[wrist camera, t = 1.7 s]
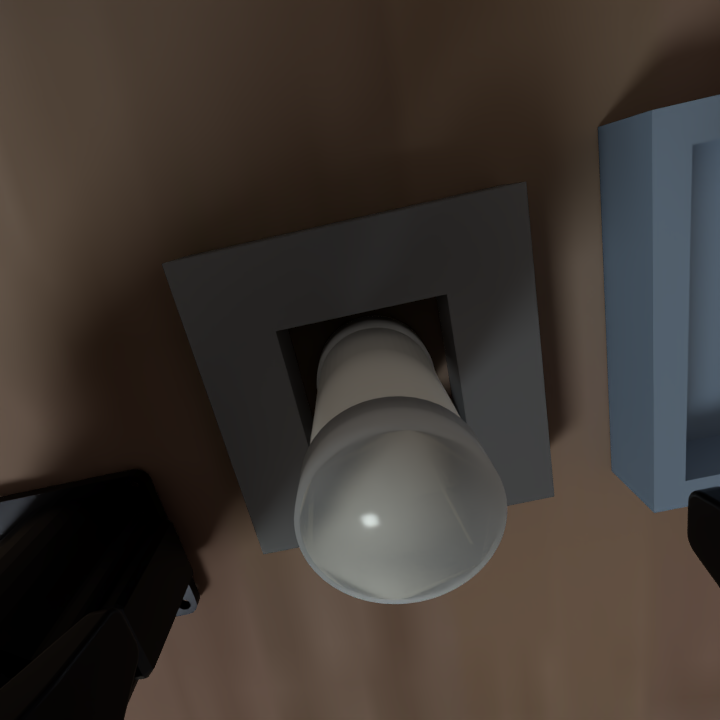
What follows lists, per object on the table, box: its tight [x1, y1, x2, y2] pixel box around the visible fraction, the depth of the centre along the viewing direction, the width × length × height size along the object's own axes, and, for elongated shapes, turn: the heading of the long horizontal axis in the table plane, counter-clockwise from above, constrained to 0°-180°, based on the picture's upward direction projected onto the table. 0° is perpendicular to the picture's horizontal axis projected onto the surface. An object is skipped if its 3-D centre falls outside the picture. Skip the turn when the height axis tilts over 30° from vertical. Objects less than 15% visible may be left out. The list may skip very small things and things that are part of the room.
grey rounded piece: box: [294, 315, 507, 604], centre depth 12 cm, size 4×4×8 cm
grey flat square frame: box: [162, 182, 554, 554], centre depth 15 cm, size 10×10×2 cm
